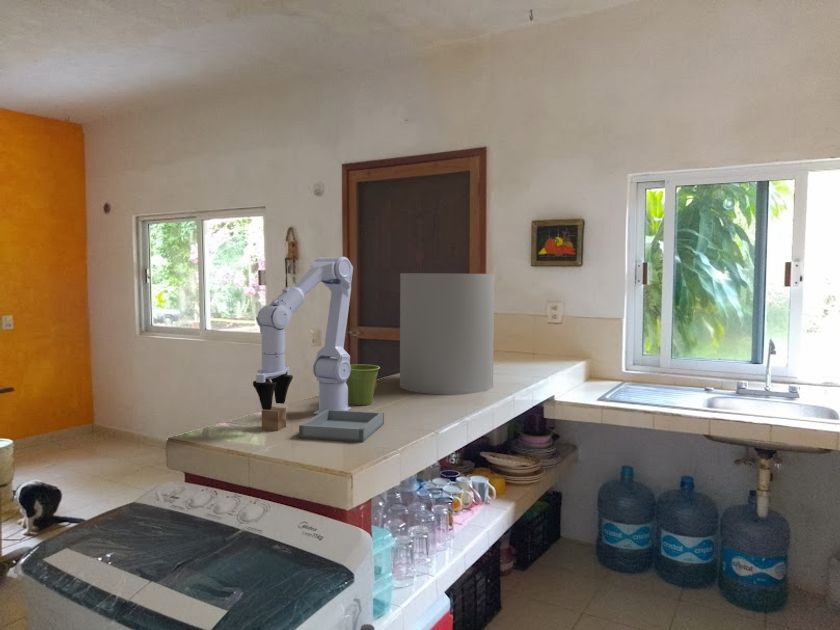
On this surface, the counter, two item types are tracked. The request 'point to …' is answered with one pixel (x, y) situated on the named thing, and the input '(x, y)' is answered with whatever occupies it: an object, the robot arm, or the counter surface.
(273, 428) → the block
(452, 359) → the cylinder container
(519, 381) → the counter surface
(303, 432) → the bin
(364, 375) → the plant pot
